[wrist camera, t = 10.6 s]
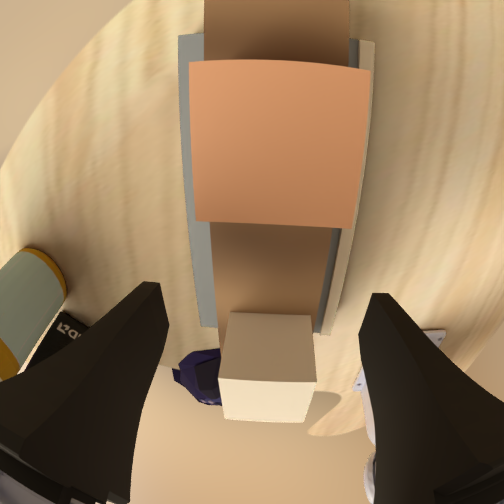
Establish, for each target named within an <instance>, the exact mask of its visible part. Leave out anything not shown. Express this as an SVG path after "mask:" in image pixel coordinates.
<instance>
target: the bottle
mask: <svg viewBox="0 0 504 504" xmlns="http://www.w3.org/2000/svg"><path fill="white" fill-rule="evenodd" d="M66 296H67V292H66V284H65V280H64V277H63V274H62V272H61V271H60V269H59V268H58V266H57V265H56V264H55V262H54V261H53V260H52V259H51V258H50V257H49V256H47V255H46V254H45V253H43V252H41V251H39V250H37V249H31V248H24V249H22V250H20V251H19V252H18V253H16V254H15V255H14V256H13V257H12V258H11V259H10V260H9V261H8V262H7V263H6V264H5V265H4V266H3V267H2V268H1V269H0V382H1V381H4V380H6V379H9V378H11V377H13V376H15V375H17V373H18V372H19V370H20V369H21V367H22V365H23V364H24V362H25V360H26V359H27V357H28V356H29V354H30V352H31V351H32V349H33V348H34V346H35V344H36V343H37V341H38V340H39V338H40V337H41V335H42V334H43V332H44V331H45V329H46V328H47V326H48V325H49V323H50V322H51V320H52V319H53V317H54V316H55V314H56V313H57V312H58V310H59V309H60V307H61V306H62V304H63V303H64V301H65V299H66Z"/></svg>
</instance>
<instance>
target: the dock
mask: <svg viewBox="0 0 504 504" xmlns="http://www.w3.org/2000/svg"><path fill="white" fill-rule="evenodd" d="M374 59H375V42H372V41H367V40H362V39H360V40H356V39H350V38H349V64H348V67H351V68H357V69H363V70H369V71H371V75H370V91H369V104H368V115H367V126H366V135H365V144H364V152H363V160H362V167H361V174H360V181H359V188H358V194H357V200H356V206H355V212H354V218H353V223H352V229H344V228H333V229H332V235H331V242H330V248H329V254H328V260H327V265H326V271H325V276H324V282H323V287H322V292H321V298H320V303H319V308H318V312H317V317H316V322H315V327H314V331H313V332H316V333H320V335H330V334H331V331H332V327H333V323H334V319H335V316H336V312H337V308H338V304H339V300H340V296H341V292H342V288H343V283H344V279H345V275H346V270H347V266H348V261H349V256H350V252H351V247H352V242H353V237H354V232H355V226H356V221H357V215H358V210H359V204H360V198H361V191H362V185H363V178H364V171H365V164H366V156H367V148H368V139H369V130H370V120H371V109H372V96H373V81H374ZM196 61H204V33H197V34H188V35H179V36H178V73H179V107H180V129H181V147H182V162H183V176H184V188H185V200H186V211H187V221H188V231H189V240H190V249H191V258H192V266H193V274H194V282H195V289H196V296H197V304H198V310H199V317H200V324H201V326H202V327H214V328H218V322H217V312H216V301H215V289H214V277H213V265H212V252H211V238H210V222H203V221H196V216H195V203H194V189H193V173H192V155H191V133H190V104H189V62H196Z"/></svg>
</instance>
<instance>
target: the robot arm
mask: <svg viewBox="0 0 504 504" xmlns="http://www.w3.org/2000/svg"><path fill="white" fill-rule="evenodd" d="M168 329H169V321H168V317H167V313H166V309H165V305H164V300H163V296H162V291H161V287H160V283H156V282H142V283H141V284H140V285H139V286H138V287H136V288H135V289H134V290H133V291H132V292H131V293H130V294H128V295H127V296H126V297H125V298H124V299H123V300H122V301H121V302H119V303H118V304H117V305H116V306H115V307H114V308H113V309H111V310H110V311H109V312H108V313H107V314H106V315H105V316H104V317H102V318H101V319H100V320H99V321H98V322H96V323H95V324H94V325H93V326H91V327H90V328H89V329H88V330H87V331H85V332H84V333H83V334H82V335H80V336H79V337H78V338H76V339H75V340H74V341H72V342H71V343H70V344H68V345H67V346H65V347H64V348H62V349H61V350H60V351H58V352H57V353H55V354H53V355H52V356H50V357H48V358H47V359H45V360H43V361H42V362H40V363H38V364H37V365H35V366H33V367H31V368H30V369H28V370H26V371H24V372H22V373H20V374H17V375H15V376H13V377H11V378H9V379H6V380H4V381H1V382H0V504H95V502H97V503H100V504H106V502H107V501H109V502H112V503H114V504H127V503H129V502H130V487H131V473H132V464H133V456H134V449H135V443H136V437H137V431H138V427H139V422H140V417H141V413H142V409H143V406H144V402H145V399H146V396H147V393H148V390H149V388H150V385H151V382H152V380H153V377H154V374H155V372H156V369H157V366H158V364H159V361H160V358H161V355H162V353H163V350H164V346H165V342H166V338H167V333H168ZM358 336H359V345H360V354H361V361H362V368H361V370H360V372H359V374H358V376H357V378H356V380H355V382H354V384H353V386H352V390H353V391H361V396H362V402H363V408H364V415H365V421H366V428H367V433H368V436H369V439H370V440H371V442H372V443H373V444H374V445H375V448H376V452H373V453H371V455H370V456H369V458H368V461H367V462H366V464H365V468H364V486H365V491H366V495H367V497H368V500H369V502H370V503H371V504H504V402H502V401H501V400H499V399H498V398H496V397H495V396H493V395H492V394H490V393H489V392H488V391H486V390H485V389H484V388H482V387H481V386H480V385H478V384H477V383H476V382H475V381H473V380H472V379H471V378H470V377H469V376H467V375H466V374H465V373H464V372H463V371H462V370H461V369H460V368H458V367H457V366H456V365H455V364H454V363H453V362H452V361H451V360H450V359H449V358H448V357H447V356H446V355H445V354H444V353H443V352H442V351H441V350H440V349H439V348H438V347H439V346H440V344H441V342H442V341H443V339H444V337H445V336H446V331H445V330H432V331H422V330H421V329H420V328H419V326H418V325H417V324H416V323H415V322H414V321H413V320H412V319H411V317H410V316H409V315H408V314H407V313H406V312H405V311H404V309H403V308H402V307H401V306H400V305H399V304H398V303H397V302H396V301H395V300H394V298H393V297H392V296H391V295H390V294H389V293H372V296H371V299H370V302H369V305H368V308H367V311H366V314H365V317H364V320H363V323H362V326H361V328H360V331H359V334H358Z"/></svg>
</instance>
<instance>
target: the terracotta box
mask: <svg viewBox="0 0 504 504" xmlns="http://www.w3.org/2000/svg"><path fill="white" fill-rule="evenodd" d="M370 75H371V71H369V70H363V69H357V68H351V67H344V66H337V65H329V64H321V63H311V62H299V61H284V60H211V61H196V62H189V104H190V133H191V155H192V173H193V189H194V203H195V216H196V221H203V222H230V223H254V224H275V225H295V226H312V227H329V228H344V229H352V223H353V218H354V212H355V206H356V200H357V194H358V188H359V181H360V174H361V167H362V160H363V152H364V144H365V135H366V126H367V115H368V104H369V91H370Z"/></svg>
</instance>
